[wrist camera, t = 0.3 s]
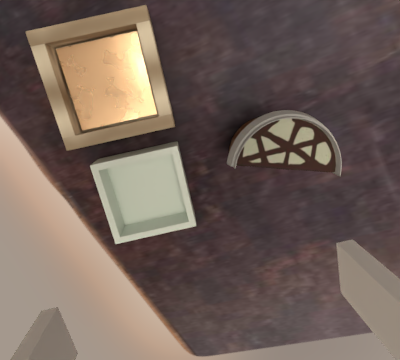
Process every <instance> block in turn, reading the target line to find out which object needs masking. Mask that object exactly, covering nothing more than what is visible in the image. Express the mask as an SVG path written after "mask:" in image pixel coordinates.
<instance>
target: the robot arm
mask: <svg viewBox="0 0 400 360" xmlns="http://www.w3.org/2000/svg"><path fill="white" fill-rule="evenodd" d="M336 244H337V255H338V266H339V277H340V288H341V293H342V295H343V296H344V297H345V298H346V300H347V301H348V302H349V303H350V304H351V306H352V307H353V308H354V309H355V311H356V312H357V313H358V314H359V315H360V317H361V318H362V319H363V320H364V322H365V323H366V324H367V325H368V327H369V328H370V329H371V330H372V331H373V333H374V334H375V335H376V336H377V337H378V339H379V340H380V341H381V343H382V344H383V345H384V346H385V347H386V349H387V350H388V351H389V352H390V354H391V355H392V356H393V357H394V358H395V360H400V279H399V278H398V277H397V276H395V275H394V274H393V273H392V272H391V271H390V270H388V269H387V268H386V267H385V266H384V265H382V264H381V263H380V262H379V261H378V260H376V259H375V258H374V257H373V256H372V255H370V254H369V253H368V252H367V251H366V250H365V249H363V248H362V247H361V246H360V245H359V244H357V243H356V242H355V241H354V240H348V241H344V242H340V243H336ZM77 354H78V353H77V350H76V348H75V346H74V343H73V341H72V339H71V336H70V334H69V332H68V330H67V327H66V325H65V323H64V320H63V318H62V316H61V313H60V311H59V309H58V307H56V308H52V309H48V310H43V311H41V313H40V314H39V316H38V317H37V319H36V321H35V322H34V324H33V325H32V327H31V328H30V330H29V331H28V333H27V334H26V336H25V338H24V339H23V341H22V342H21V344H20V346H19V347H18V349H17V350H16V352H15V353H14V355H13V357H12V358H11V360H75V359H76V356H77Z"/></svg>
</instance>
